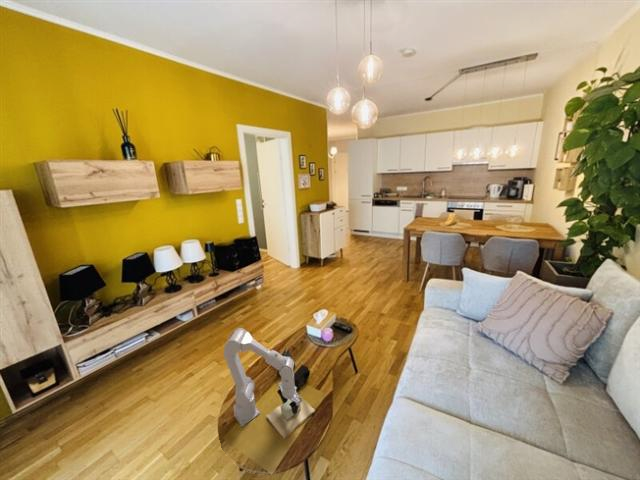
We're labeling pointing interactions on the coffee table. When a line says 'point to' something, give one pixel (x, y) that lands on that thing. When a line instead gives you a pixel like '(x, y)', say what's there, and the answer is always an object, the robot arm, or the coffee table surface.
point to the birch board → (290, 425)
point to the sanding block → (288, 410)
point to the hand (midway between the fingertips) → (290, 407)
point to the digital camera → (301, 376)
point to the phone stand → (287, 354)
